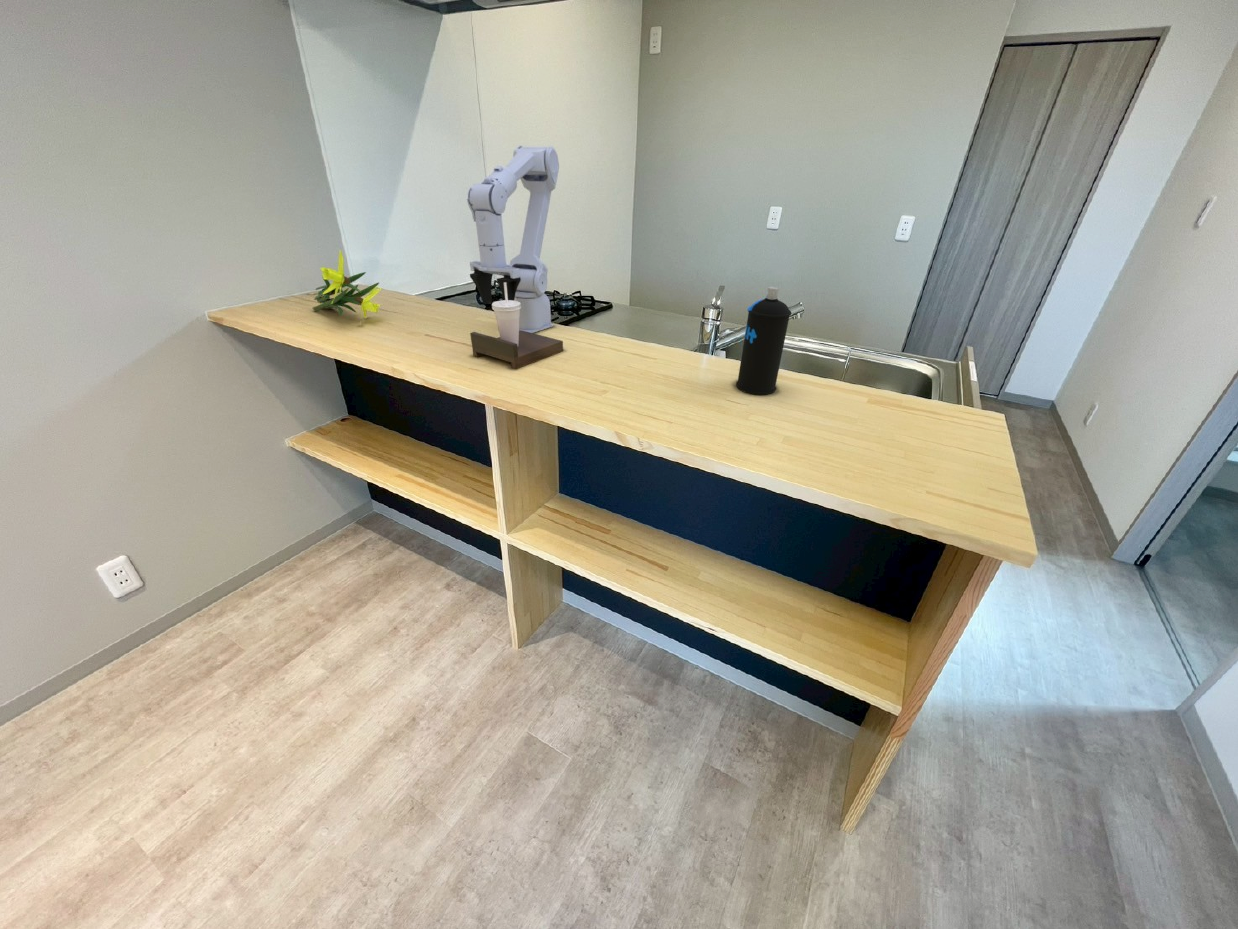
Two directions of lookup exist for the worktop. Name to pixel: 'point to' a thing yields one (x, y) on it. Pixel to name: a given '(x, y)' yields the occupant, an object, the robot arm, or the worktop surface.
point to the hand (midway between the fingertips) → (498, 305)
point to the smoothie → (507, 318)
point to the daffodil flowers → (344, 297)
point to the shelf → (516, 348)
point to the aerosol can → (763, 345)
